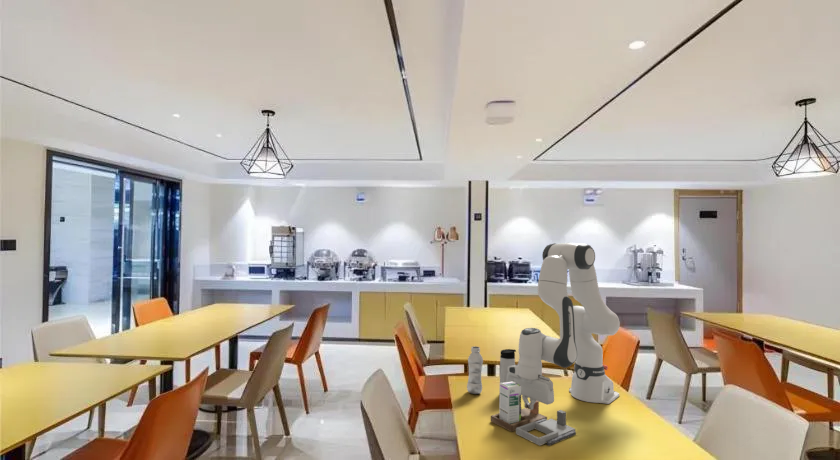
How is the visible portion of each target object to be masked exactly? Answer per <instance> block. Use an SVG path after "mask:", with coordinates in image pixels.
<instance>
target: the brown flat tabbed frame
mask: <svg viewBox="0 0 840 460" xmlns="http://www.w3.org/2000/svg"><path fill="white" fill-rule="evenodd" d="M530 402H531V401H530V400H529V403H530ZM539 407H540V402H539V401H536V402H535V404H534V407H533V410H530V409H528V408H525V407H524V408H521V421H519V422H516V423H513V424H509V423H507V422H505V421H503V420H501V419H499V412H498V413H495V414H492V415H490V422H491V423H493V424H496V425H497V426H499V427H502V428H503V429H505V430H507V431H509V432H516V428H517V427H520V426H523V425H526V424H529V423H531V422H536V421H539V420H542V419H547V420H548V417H547V416H546V415H543V414H541V413H540V411H539V410H540V409H539Z"/></svg>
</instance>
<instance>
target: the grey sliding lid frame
mask: <svg viewBox="0 0 840 460" xmlns="http://www.w3.org/2000/svg"><path fill="white" fill-rule="evenodd" d="M532 430H537V431H539V432H541V433H544V434H545V435H543V436H537V435H534V434H532V433H530V431H532ZM571 431H575V432H576V428H575V427H573V426H570V425H568V424H567V411H564V410H562V409H559V410H556V420H555V419H553V418H549V419H547V420H546V421H544V422H541V423H536V422H531V423H529V424H526V425H523V426H520V427H517V428H516V430H515V434H516V435H518V436H519V437H522V438H523V439H526V440H527V441H530V442H531V443H534V444H536V445H537V446H539V447H540V446H542V445H545V444H547V441H549V440H552V439H554V438H557V437H559V436H561V435H564V434H566V433H569V432H571Z"/></svg>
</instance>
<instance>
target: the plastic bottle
mask: <svg viewBox="0 0 840 460" xmlns="http://www.w3.org/2000/svg"><path fill="white" fill-rule="evenodd" d="M470 349H471V350H470V352H471V353H470V354H469V356H468V357H467V364H468V379H467V384H466V390H467V392H468V393H469V394H472V395H473V394H474V395H479V394H481V393H482V391H483V384H482V371H483V368H482V367H483V363H484V358H483V356H482V354H481V347H480V346H476V345H475V346H471V348H470Z"/></svg>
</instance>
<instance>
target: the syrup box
mask: <svg viewBox="0 0 840 460" xmlns="http://www.w3.org/2000/svg"><path fill="white" fill-rule="evenodd" d="M498 407H499V412H498V413H499V419H501V420H503V421H505V422H507V423H509V424H513V423H516V422H519V421H521V409H522V395H521V385H519V384H517V383H515V382H513V381H511V382H504V383H500V382H499V406H498Z"/></svg>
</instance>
